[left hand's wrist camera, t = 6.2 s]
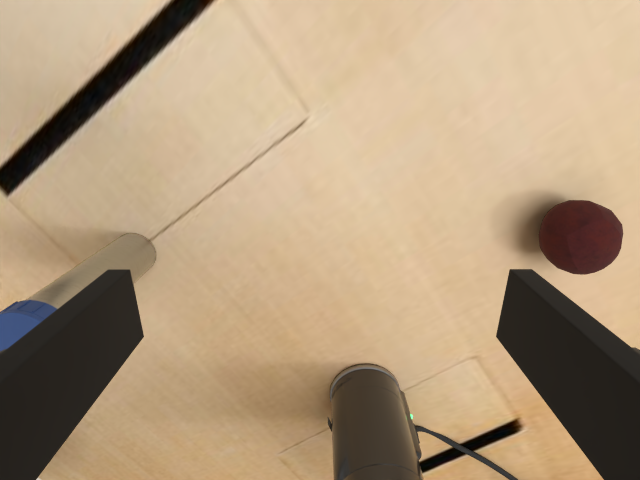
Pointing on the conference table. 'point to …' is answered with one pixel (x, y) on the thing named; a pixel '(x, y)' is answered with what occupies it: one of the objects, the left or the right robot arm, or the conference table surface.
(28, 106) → the conference table surface
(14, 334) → the lid
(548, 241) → the plum
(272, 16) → the conference table surface
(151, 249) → the jar
